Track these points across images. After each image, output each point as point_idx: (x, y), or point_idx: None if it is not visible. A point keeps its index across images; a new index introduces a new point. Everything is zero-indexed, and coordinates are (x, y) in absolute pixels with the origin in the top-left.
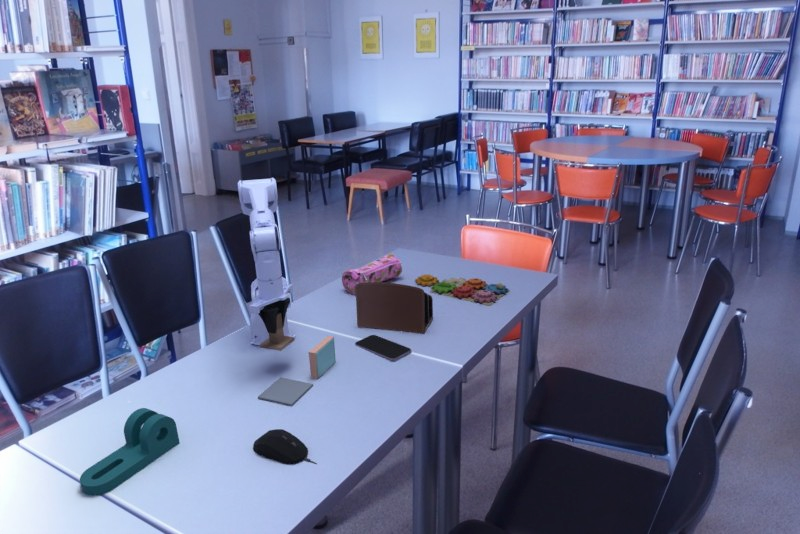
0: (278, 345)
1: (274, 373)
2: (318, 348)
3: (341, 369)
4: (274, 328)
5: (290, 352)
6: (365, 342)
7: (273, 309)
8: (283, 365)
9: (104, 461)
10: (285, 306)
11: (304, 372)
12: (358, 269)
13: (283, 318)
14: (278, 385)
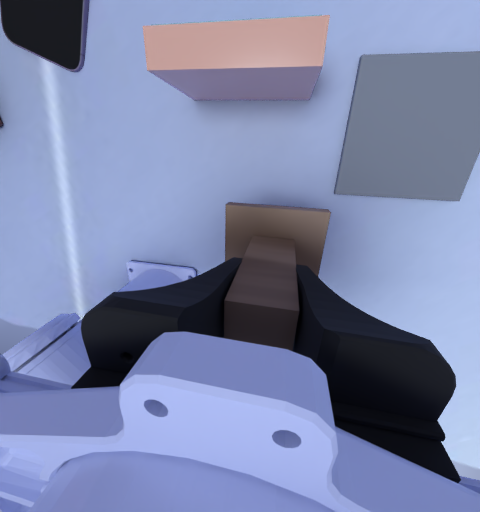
0: (309, 231)
1: None
2: (275, 31)
3: (232, 14)
4: (315, 275)
5: (196, 238)
6: (54, 29)
7: (410, 370)
8: None
9: None
10: (189, 298)
11: (282, 141)
12: None
13: (227, 271)
14: (385, 173)
